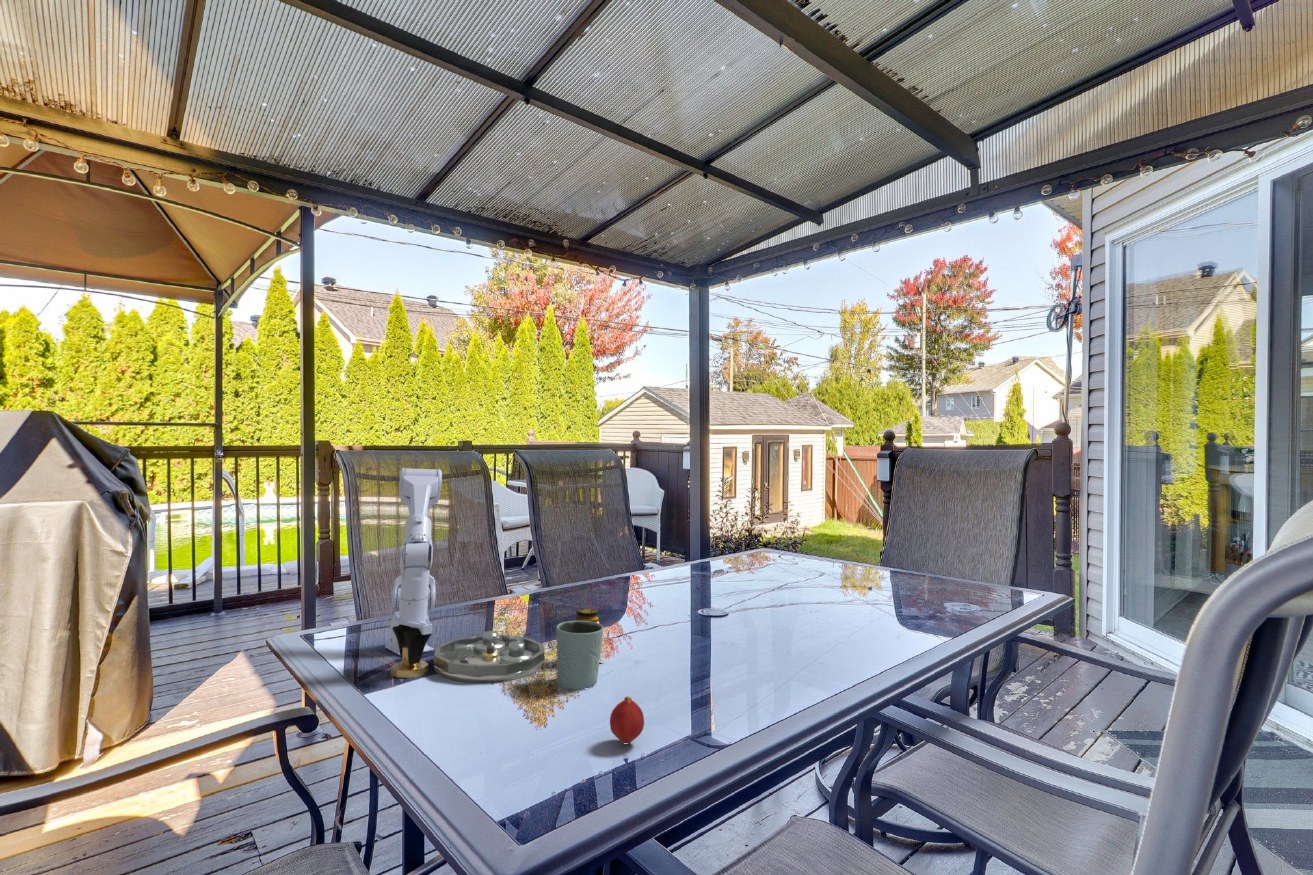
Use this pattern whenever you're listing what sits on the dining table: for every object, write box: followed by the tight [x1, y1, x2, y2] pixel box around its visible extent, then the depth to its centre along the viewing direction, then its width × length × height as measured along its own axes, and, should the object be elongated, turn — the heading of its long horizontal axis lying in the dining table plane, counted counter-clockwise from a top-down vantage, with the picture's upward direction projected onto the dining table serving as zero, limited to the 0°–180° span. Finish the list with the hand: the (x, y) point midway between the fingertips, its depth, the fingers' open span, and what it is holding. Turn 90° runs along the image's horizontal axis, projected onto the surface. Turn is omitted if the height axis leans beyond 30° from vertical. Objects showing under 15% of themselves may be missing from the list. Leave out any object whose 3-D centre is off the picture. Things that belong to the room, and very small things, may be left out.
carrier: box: [433, 630, 546, 684], centre depth 143 cm, size 24×24×6 cm
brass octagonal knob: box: [390, 645, 429, 679], centre depth 135 cm, size 7×7×6 cm
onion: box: [609, 695, 645, 744], centre depth 105 cm, size 6×6×8 cm
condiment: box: [575, 607, 600, 624], centre depth 148 cm, size 7×8×12 cm
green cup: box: [555, 620, 604, 691], centre depth 133 cm, size 10×10×12 cm
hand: (410, 660), depth 135 cm, fingers closed on brass octagonal knob, 3 cm apart
